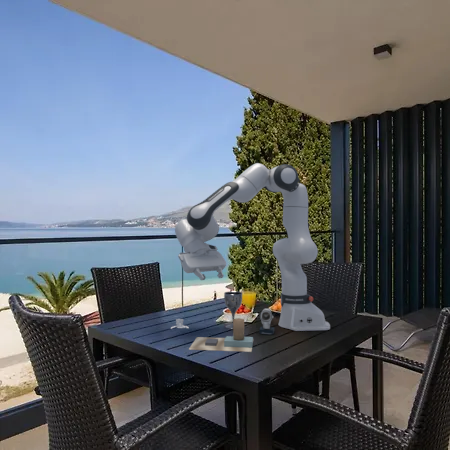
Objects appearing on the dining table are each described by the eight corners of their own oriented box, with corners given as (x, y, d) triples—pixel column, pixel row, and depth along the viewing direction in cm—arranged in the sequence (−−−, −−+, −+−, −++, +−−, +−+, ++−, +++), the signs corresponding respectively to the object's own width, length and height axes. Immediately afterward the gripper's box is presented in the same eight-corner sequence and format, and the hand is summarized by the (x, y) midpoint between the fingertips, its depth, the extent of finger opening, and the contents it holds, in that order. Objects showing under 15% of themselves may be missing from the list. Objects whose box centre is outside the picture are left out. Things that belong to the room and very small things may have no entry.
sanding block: (253, 342, 141) (252, 318, 141) (252, 347, 135) (252, 322, 135) (226, 341, 142) (226, 317, 142) (224, 346, 136) (224, 321, 136)
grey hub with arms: (185, 332, 161) (185, 322, 161) (167, 331, 163) (167, 321, 163) (191, 327, 170) (191, 318, 170) (174, 326, 172) (174, 317, 172)
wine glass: (232, 330, 163) (232, 295, 163) (220, 326, 169) (220, 292, 169) (246, 327, 168) (245, 293, 168) (234, 323, 174) (234, 290, 174)
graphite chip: (218, 341, 142) (218, 339, 142) (216, 345, 137) (216, 343, 137) (207, 341, 142) (207, 338, 142) (205, 345, 137) (205, 342, 137)
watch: (258, 338, 151) (258, 310, 151) (261, 333, 159) (261, 306, 159) (273, 339, 149) (272, 311, 150) (274, 333, 157) (274, 307, 157)
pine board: (253, 342, 145) (253, 338, 145) (251, 356, 130) (251, 351, 130) (196, 340, 148) (196, 337, 148) (188, 353, 133) (188, 349, 133)
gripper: (180, 247, 148) (195, 275, 141) (219, 246, 162) (235, 271, 155) (173, 258, 151) (188, 285, 144) (212, 256, 165) (227, 281, 158)
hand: (212, 278), depth 150 cm, fingers open, 8 cm apart
